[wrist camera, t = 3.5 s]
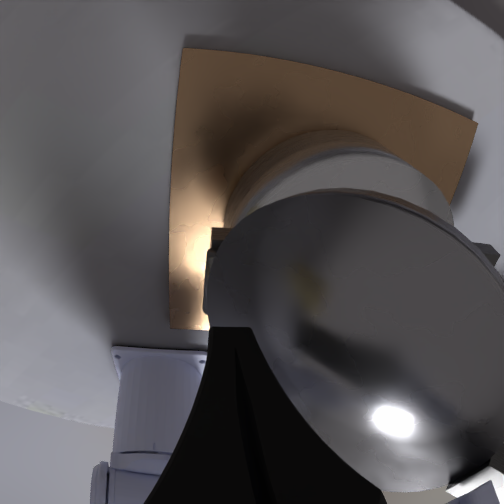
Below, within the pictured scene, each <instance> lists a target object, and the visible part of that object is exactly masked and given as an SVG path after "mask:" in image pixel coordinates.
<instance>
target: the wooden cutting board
mask: <svg viewBox="0 0 504 504" xmlns="http://www.w3.org/2000/svg"><path fill="white" fill-rule="evenodd" d="M477 126H478V123H477V122H474V121H472V120H470V119H468V118H466V117H464V116H462V115H460V114H457V113H455V112H453V111H451V110H448V109H446V108H444V107H441V106H439V105H437V104H434V103H432V102H429V101H427V100H424V99H422V98H419V97H417V96H414V95H411V94H408V93H406V92H403V91H400V90H397V89H394V88H391V87H388V86H385V85H382V84H379V83H376V82H373V81H370V80H366V79H363V78H360V77H356V76H353V75H349V74H345V73H342V72H338V71H334V70H330V69H326V68H321V67H317V66H313V65H308V64H303V63H299V62H294V61H288V60H283V59H278V58H272V57H266V56H259V55H252V54H245V53H237V52H228V51H218V50H207V49H193V48H183V52H182V59H181V67H180V76H179V85H178V94H177V104H176V115H175V127H174V140H173V154H172V171H171V192H170V222H169V307H170V329H190V330H209V328H210V326H209V321H208V315H206V314H205V313H204V312H203V310H202V305H203V291H204V278H205V266H206V255H207V251H208V249H210V248H212V247H220V245H221V243H222V242H223V240H224V239H225V237H226V236H227V235H228V233H229V232H230V231H231V230H232V229H233V228H234V227H235V226H236V225H237V224H238V223H239V222H240V221H241V220H242V219H243V218H245V217H246V216H248V215H249V214H251V213H252V212H254V211H255V210H257V209H259V208H261V207H263V206H266V205H268V204H271V203H273V202H275V201H278V200H281V199H284V198H287V197H289V196H292V195H295V194H298V193H303V192H308V191H312V190H317V189H326V188H354V189H363V190H372V191H376V192H380V193H383V194H387V195H391V196H394V197H398V198H401V199H404V200H406V201H408V202H410V203H413V204H415V205H417V206H420V207H422V208H424V209H426V210H428V211H430V212H432V213H433V214H435V215H437V216H438V217H440V218H441V219H443V220H444V221H446V222H447V223H449V224H451V225H452V226H454V222H453V217H452V212H451V210H450V207H449V206H450V203H451V201H452V198H453V196H454V193H455V190H456V188H457V185H458V183H459V180H460V177H461V174H462V172H463V169H464V166H465V163H466V160H467V157H468V154H469V151H470V148H471V145H472V142H473V139H474V136H475V132H476V129H477ZM472 243H473V244H474V245H476V246H477V247H478V248H479V249H480V250H481V251H482V253H483V254H484V255H485V256H486V258H487V259H488V260H489V261H490V263H491V264H492V265H493V266H495V264H496V262H497V260H498V259H499V257H500V254H499V253H498V252H497V251H496V250H495V249H494V248H493V247H492V246H491V245H489V244H482V243H474V242H472Z"/></svg>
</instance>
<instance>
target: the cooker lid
mask: <svg viewBox="0 0 504 504" xmlns="http://www.w3.org/2000/svg"><path fill="white" fill-rule="evenodd" d="M202 310H203V312H204V313H205V314H206V315H208V321H209V326H210V328H211V327H213V326H218V327H250V328H251V329H252V330H253V333H254V335H255V338H256V340H257V342H258V344H259V347H260V349H261V351H262V353H263V355H264V357H265V359H266V361H267V363H268V364H269V366H270V368H271V370H272V371H273V373H274V375H275V377H276V378H277V380H278V382H279V383H280V385H281V387H282V388H283V390H284V391H285V393H286V394H287V396H288V397H289V399H290V400H291V402H292V403H293V404H294V406H295V407H296V409H297V410H298V411H299V413H300V414H301V415H302V416H303V418H304V419H305V420H306V421H307V423H308V424H309V425H310V426H311V428H312V429H313V430H314V431H315V432H316V433H317V434H318V435H319V437H320V438H321V439H322V440H323V441H324V442H325V443H326V444H327V445H328V446H329V447H330V448H331V449H332V450H333V451H334V452H335V453H336V454H337V455H338V456H339V457H340V458H342V459H343V460H344V461H345V462H346V463H347V464H348V465H349V466H351V467H352V468H353V469H354V470H355V471H357V472H358V473H359V474H360V475H362V476H363V477H364V478H366V479H367V480H368V481H370V482H371V483H372V484H374V485H375V486H377V487H378V488H379V489H381V491H390V492H415V491H424V490H429V489H434V488H439V487H442V486H445V485H448V486H447V489H446V492H448V493H450V494H452V495H453V496H455V497H457V498H458V497H460V496H462V495H464V494H466V493H468V492H470V491H472V490H474V489H475V488H477V487H479V486H480V485H482V484H484V483H486V482H487V481H489V480H492V483H493V486H494V488H495V491H496V494H497V497H498V499H499V502H500V504H504V281H503V279H502V278H501V276H500V274H499V273H498V271H497V270H496V269H495V268H494V266H493V265H492V264H491V263H490V261H489V260H488V259H487V258H486V256H485V255H484V254H483V253H482V251H481V250H480V249H479V248H478V247H477V246H476V245H474V244H473V243H472V242H471V241H470V240H469V239H468V238H467V237H466V236H464V235H463V234H462V233H461V232H460V231H459V230H458V229H456V228H455V227H454V226H452V225H451V224H449V223H447V222H446V221H444V220H443V219H441V218H440V217H438V216H437V215H435V214H433V213H432V212H430V211H428V210H426V209H424V208H422V207H420V206H417V205H415V204H413V203H410V202H408V201H406V200H404V199H401V198H398V197H394V196H391V195H387V194H383V193H380V192H376V191H372V190H363V189H354V188H326V189H317V190H312V191H308V192H303V193H298V194H295V195H292V196H289V197H287V198H284V199H281V200H278V201H275V202H273V203H271V204H268V205H266V206H263V207H261V208H259V209H257V210H255V211H254V212H252V213H251V214H249V215H248V216H246V217H245V218H243V219H242V220H241V221H240V222H239V223H238V224H237V225H236V226H235V227H234V228H233V229H232V230H231V231H230V232H229V233H228V235H227V236H226V237H225V239H224V240H223V242H222V243H221V245H220V247H212V248H210V249H208V251H207V255H206V266H205V278H204V291H203V305H202Z"/></svg>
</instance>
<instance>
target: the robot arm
mask: <svg viewBox="0 0 504 504" xmlns="http://www.w3.org/2000/svg"><path fill="white" fill-rule="evenodd" d="M111 354H112V357H113V361H114V364H115V368H116V371H117V374H118V378H119V381H120V387H119V395H118V402H117V411H116V420H115V430H114V440H113V441H114V442H113V452H112V453H111V462H110V467H108V462H104V461H101V462H100V464H98V465H96V466H95V467H94V468H93V473H92V480H91V493H90V504H387V502H386V500H385V498H384V495H383V493H382V491H381V489H379V488H378V487H377V486H375V485H374V484H372V483H371V482H370V481H368V480H367V479H366V478H364V477H363V476H362V475H360V474H359V473H358V472H357V471H355V470H354V469H353V468H352V467H351V466H349V465H348V464H347V463H346V462H345V461H344V460H343V459H342V458H340V457H339V456H338V455H337V454H336V453H335V452H334V451H333V450H332V449H331V448H330V447H329V446H328V445H327V444H326V443H325V442H324V441H323V440H322V439H321V438H320V437H319V435H318V434H317V433H316V432H315V431H314V430H313V429H312V428H311V426H310V425H309V424H308V423H307V421H306V420H305V419H304V418H303V416H302V415H301V414H300V413H299V411H298V410H297V409H296V407H295V406H294V404H293V403H292V402H291V400H290V399H289V397H288V396H287V394H286V393H285V391H284V390H283V388H282V387H281V385H280V383H279V382H278V380H277V378H276V377H275V375H274V373H273V371H272V370H271V368H270V366H269V364H268V363H267V361H266V359H265V357H264V355H263V353H262V351H261V349H260V347H259V344H258V342H257V340H256V338H255V335H254V333H253V330H252V329H251V328H250V327H218V326H213V327H211V328H209V337H208V350H207V352H205V351H185V350H164V349H148V348H134V347H122V346H114V347H112V349H111ZM446 504H500V502H499V499H498V497H497V494H496V491H495V488H494V486H493V483H492V480H489V481H487V482H486V483H484V484H482V485H480V486H479V487H477V488H475V489H474V490H472V491H470V492H468V493H466V494H464V495H462V496H460V497H458V498H456V499H454V500H452V501H450V502H448V503H446Z"/></svg>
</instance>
